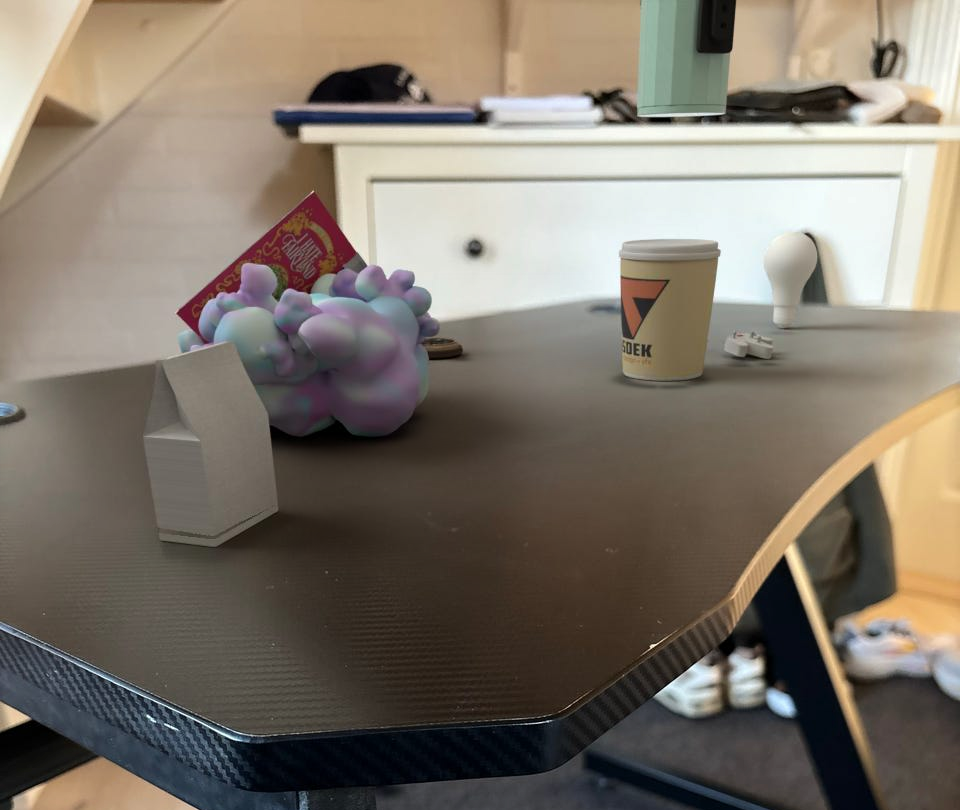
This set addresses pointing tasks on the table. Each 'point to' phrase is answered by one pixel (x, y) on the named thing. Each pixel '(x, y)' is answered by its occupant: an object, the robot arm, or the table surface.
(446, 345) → the compass
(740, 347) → the game controller
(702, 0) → the robot arm
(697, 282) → the coffee cup
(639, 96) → the glass
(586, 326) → the table surface
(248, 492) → the milk carton
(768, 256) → the lightbulb
